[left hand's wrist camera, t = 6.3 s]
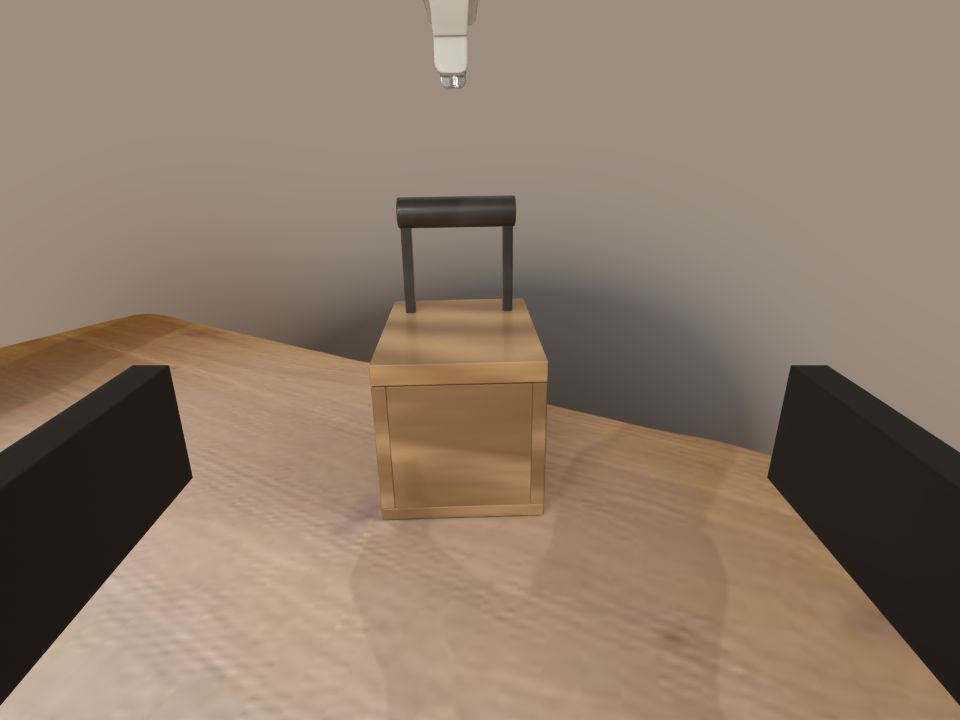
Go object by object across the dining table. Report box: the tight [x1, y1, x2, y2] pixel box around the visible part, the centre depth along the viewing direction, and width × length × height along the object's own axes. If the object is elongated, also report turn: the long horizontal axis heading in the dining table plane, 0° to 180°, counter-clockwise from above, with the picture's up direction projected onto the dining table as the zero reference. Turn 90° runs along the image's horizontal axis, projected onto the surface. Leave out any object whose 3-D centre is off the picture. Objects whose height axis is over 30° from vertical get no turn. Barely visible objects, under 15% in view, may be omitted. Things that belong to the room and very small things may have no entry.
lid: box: [369, 196, 548, 386], centre depth 37 cm, size 14×10×9 cm
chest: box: [371, 382, 547, 520], centre depth 40 cm, size 13×10×9 cm
